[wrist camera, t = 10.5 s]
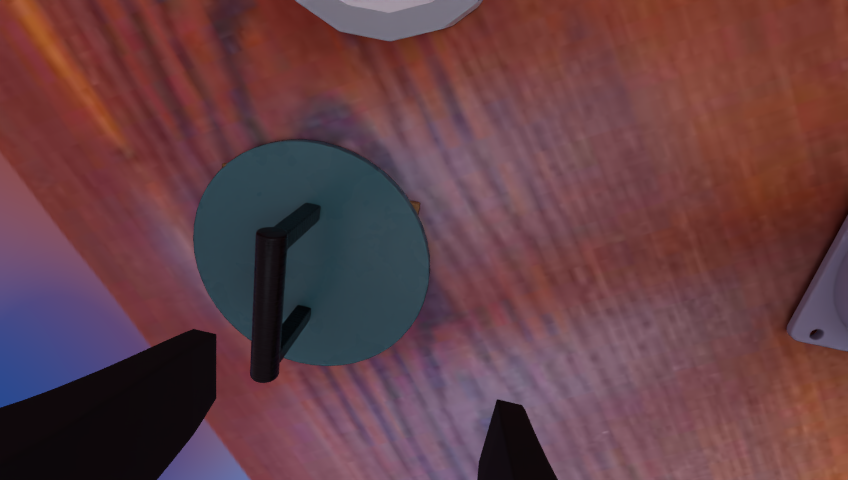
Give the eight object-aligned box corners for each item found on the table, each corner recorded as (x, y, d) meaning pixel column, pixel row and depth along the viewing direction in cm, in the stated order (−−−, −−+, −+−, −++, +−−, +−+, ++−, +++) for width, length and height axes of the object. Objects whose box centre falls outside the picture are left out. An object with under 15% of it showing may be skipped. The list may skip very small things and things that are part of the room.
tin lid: (453, 164, 19) (439, 201, 14) (411, 373, 23) (388, 463, 18) (206, 114, 20) (105, 132, 15) (206, 326, 24) (127, 400, 19)
